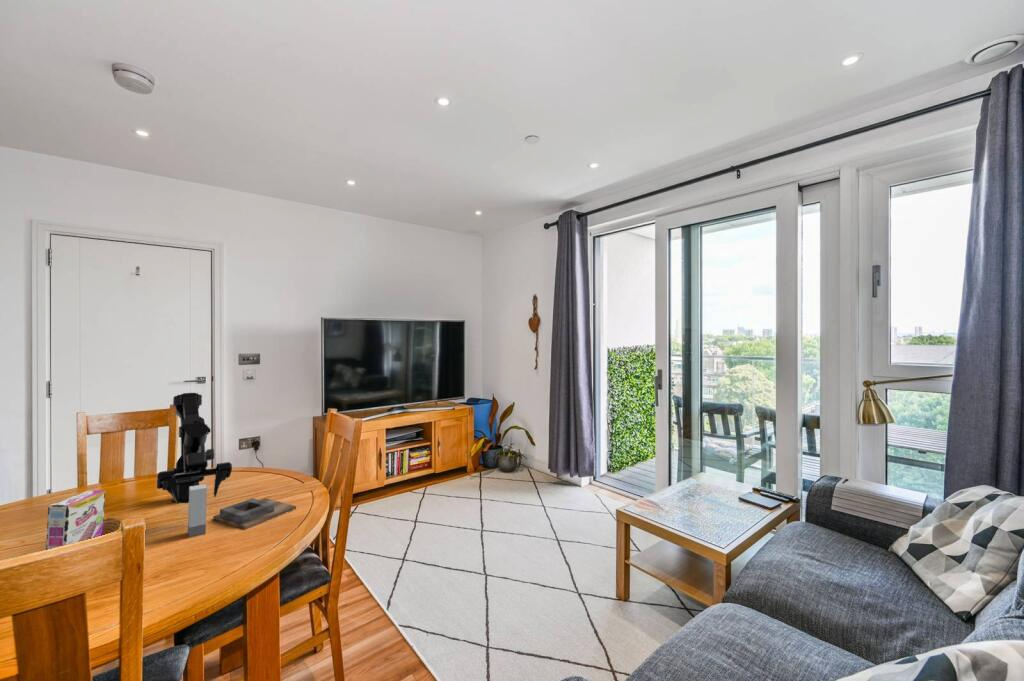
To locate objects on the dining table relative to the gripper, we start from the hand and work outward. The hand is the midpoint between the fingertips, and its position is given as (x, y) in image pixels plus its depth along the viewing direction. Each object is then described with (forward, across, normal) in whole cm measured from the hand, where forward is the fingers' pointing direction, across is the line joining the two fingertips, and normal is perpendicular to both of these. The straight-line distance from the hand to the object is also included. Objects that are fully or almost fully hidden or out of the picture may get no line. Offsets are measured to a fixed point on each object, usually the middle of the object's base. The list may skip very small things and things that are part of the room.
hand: (197, 499), depth 130 cm
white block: (+8, 0, +6) cm, 10 cm away
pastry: (-2, -20, +17) cm, 26 cm away
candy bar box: (+8, -26, +6) cm, 27 cm away
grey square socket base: (+4, +17, +9) cm, 19 cm away
